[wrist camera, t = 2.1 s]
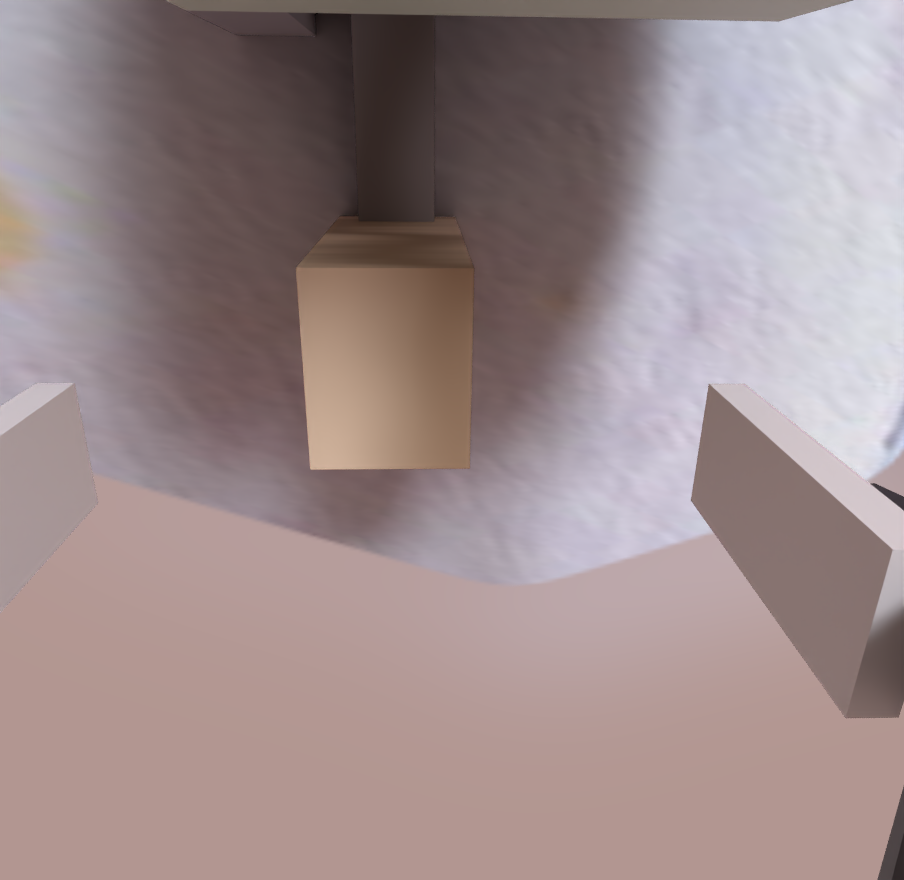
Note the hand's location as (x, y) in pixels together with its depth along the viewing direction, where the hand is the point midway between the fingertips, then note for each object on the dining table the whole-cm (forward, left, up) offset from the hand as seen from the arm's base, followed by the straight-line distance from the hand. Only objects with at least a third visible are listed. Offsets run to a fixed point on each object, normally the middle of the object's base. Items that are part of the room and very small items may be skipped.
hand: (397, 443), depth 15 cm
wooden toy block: (0, +9, -13) cm, 15 cm away
